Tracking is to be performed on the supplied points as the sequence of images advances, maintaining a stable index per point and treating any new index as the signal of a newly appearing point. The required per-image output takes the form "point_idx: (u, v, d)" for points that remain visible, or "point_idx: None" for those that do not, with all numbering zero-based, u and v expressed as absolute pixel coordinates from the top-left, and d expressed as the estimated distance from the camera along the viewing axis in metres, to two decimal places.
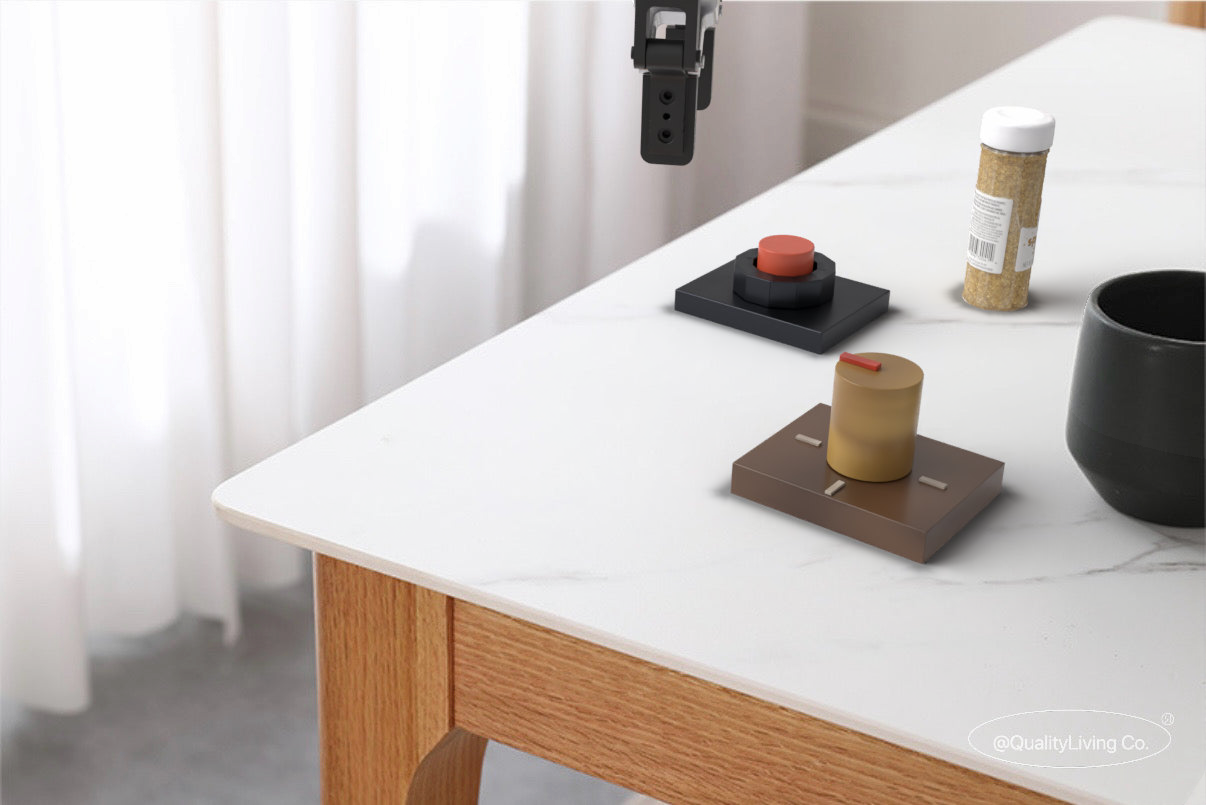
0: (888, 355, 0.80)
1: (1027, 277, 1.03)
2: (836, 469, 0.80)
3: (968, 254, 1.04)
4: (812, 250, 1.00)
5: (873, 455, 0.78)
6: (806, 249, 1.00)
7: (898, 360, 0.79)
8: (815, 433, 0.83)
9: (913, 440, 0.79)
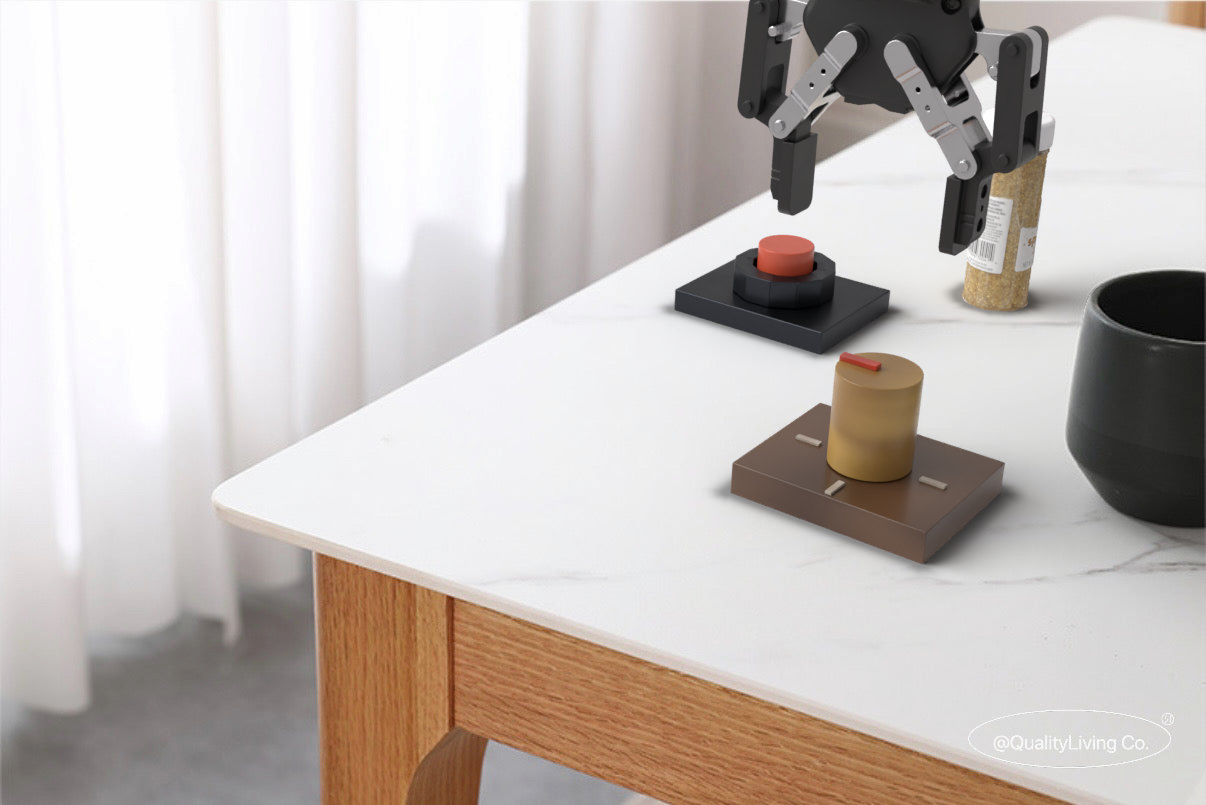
0: (888, 355, 0.80)
1: (1027, 277, 1.03)
2: (836, 469, 0.80)
3: (968, 254, 1.04)
4: (812, 250, 1.00)
5: (873, 455, 0.78)
6: (806, 249, 1.00)
7: (898, 360, 0.79)
8: (815, 433, 0.83)
9: (913, 440, 0.79)
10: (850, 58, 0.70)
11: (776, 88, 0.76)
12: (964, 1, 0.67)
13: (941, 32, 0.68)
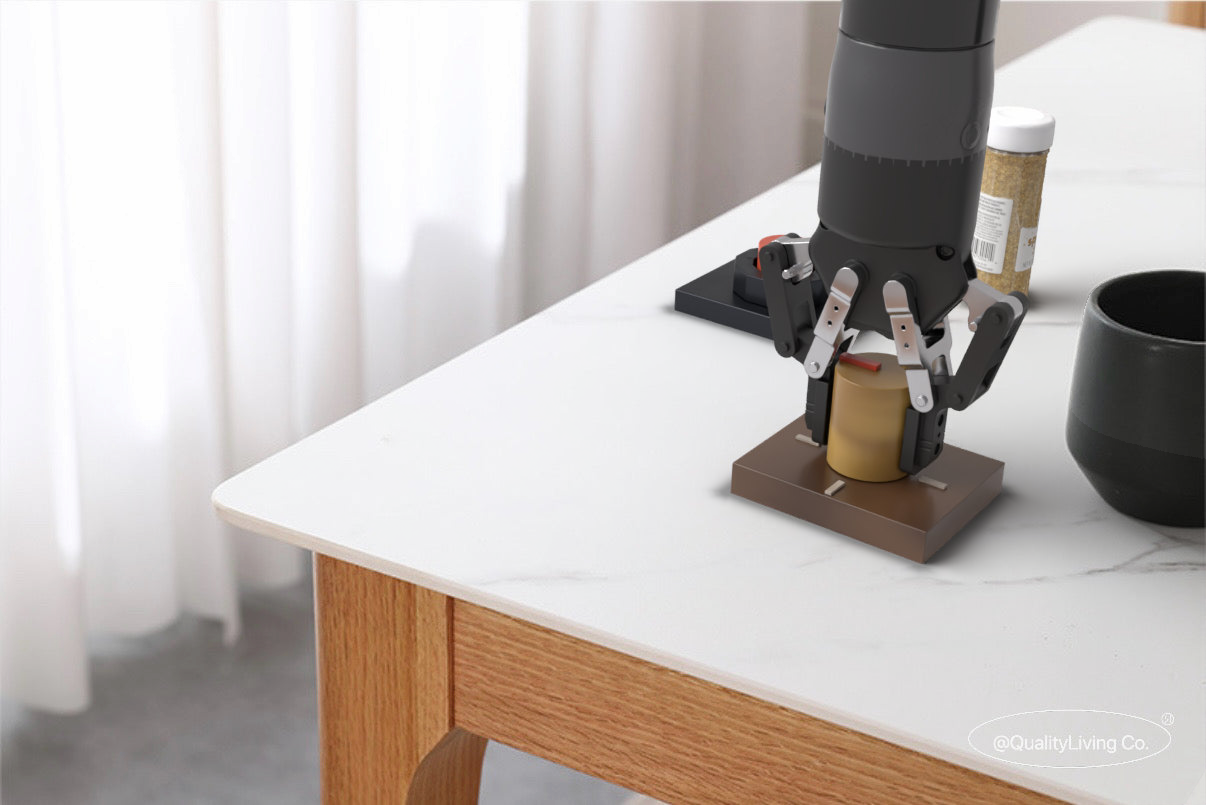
0: (888, 355, 0.80)
1: (1027, 277, 1.03)
2: (836, 469, 0.80)
3: None
4: None
5: (873, 455, 0.78)
6: None
7: None
8: None
9: None
10: (855, 290, 0.75)
11: (807, 324, 0.81)
12: (957, 249, 0.72)
13: (936, 275, 0.73)
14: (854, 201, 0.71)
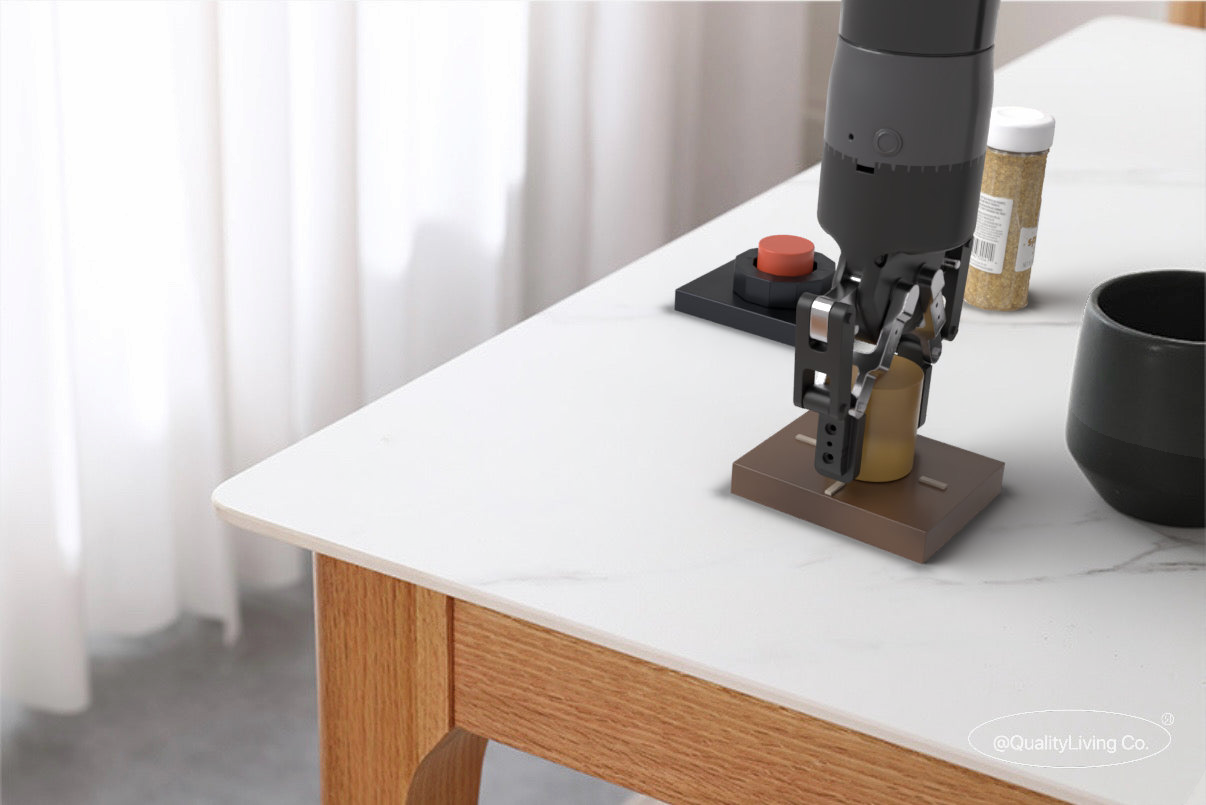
0: None
1: (1027, 277, 1.03)
2: (899, 476, 0.79)
3: None
4: (812, 250, 1.00)
5: None
6: (806, 249, 1.00)
7: None
8: (815, 433, 0.83)
9: None
10: (913, 304, 0.75)
11: (812, 383, 0.74)
12: None
13: None
14: (968, 207, 0.72)
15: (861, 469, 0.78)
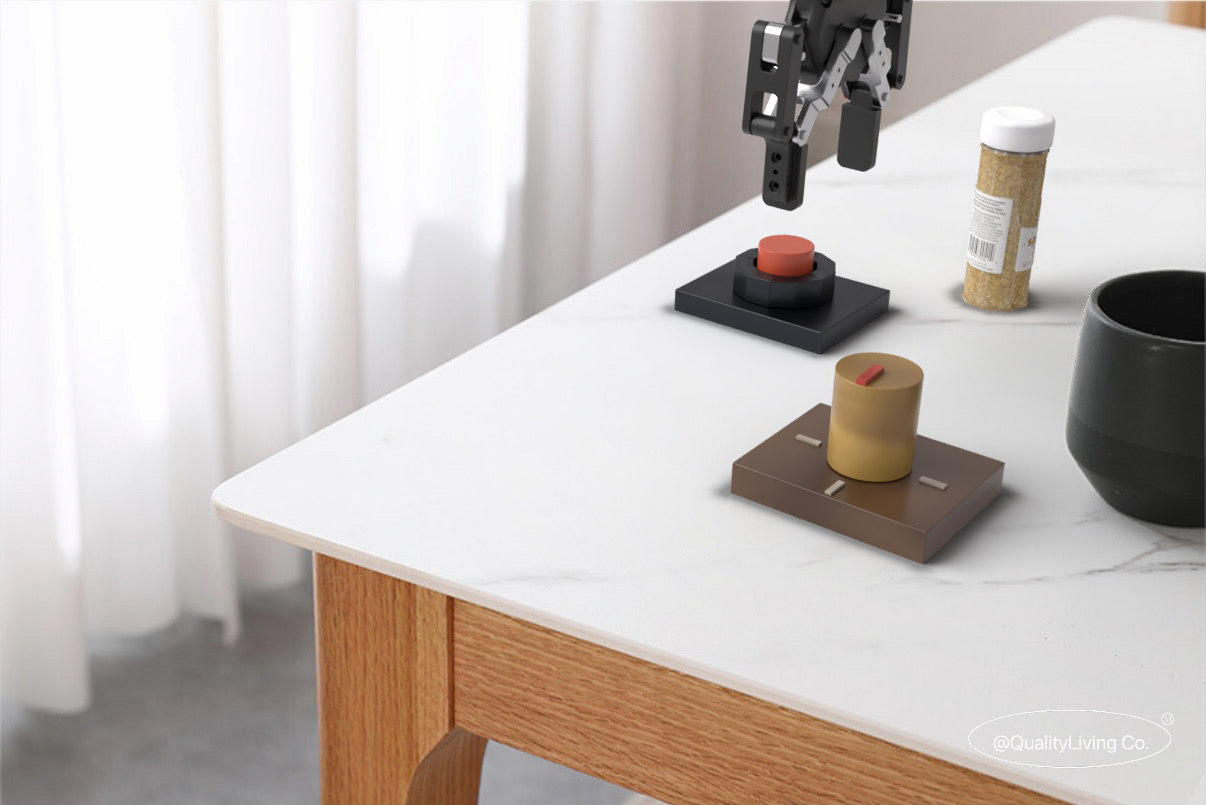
0: (841, 363, 0.79)
1: (1027, 277, 1.03)
2: (899, 476, 0.79)
3: (968, 254, 1.04)
4: (812, 250, 1.00)
5: None
6: (806, 249, 1.00)
7: (851, 360, 0.79)
8: (815, 433, 0.83)
9: None
10: None
11: (760, 112, 0.82)
12: None
13: (879, 4, 0.86)
14: None
15: (861, 469, 0.78)
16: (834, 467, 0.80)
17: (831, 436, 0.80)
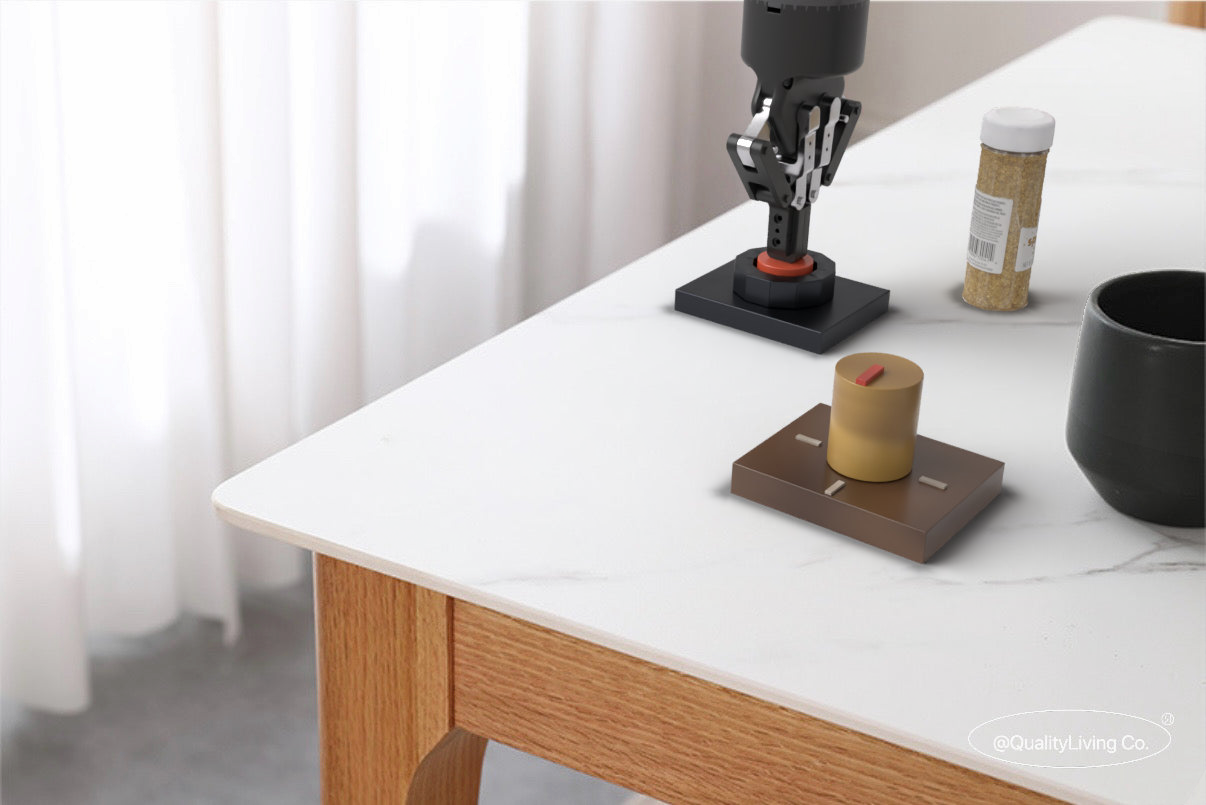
0: (841, 363, 0.79)
1: (1027, 277, 1.03)
2: (899, 476, 0.79)
3: (968, 254, 1.04)
4: (811, 265, 1.01)
5: None
6: (805, 264, 1.00)
7: (851, 360, 0.79)
8: (815, 433, 0.83)
9: None
10: (818, 117, 0.96)
11: None
12: None
13: (838, 82, 0.98)
14: (855, 42, 0.93)
15: (861, 469, 0.78)
16: (834, 467, 0.80)
17: (831, 436, 0.80)
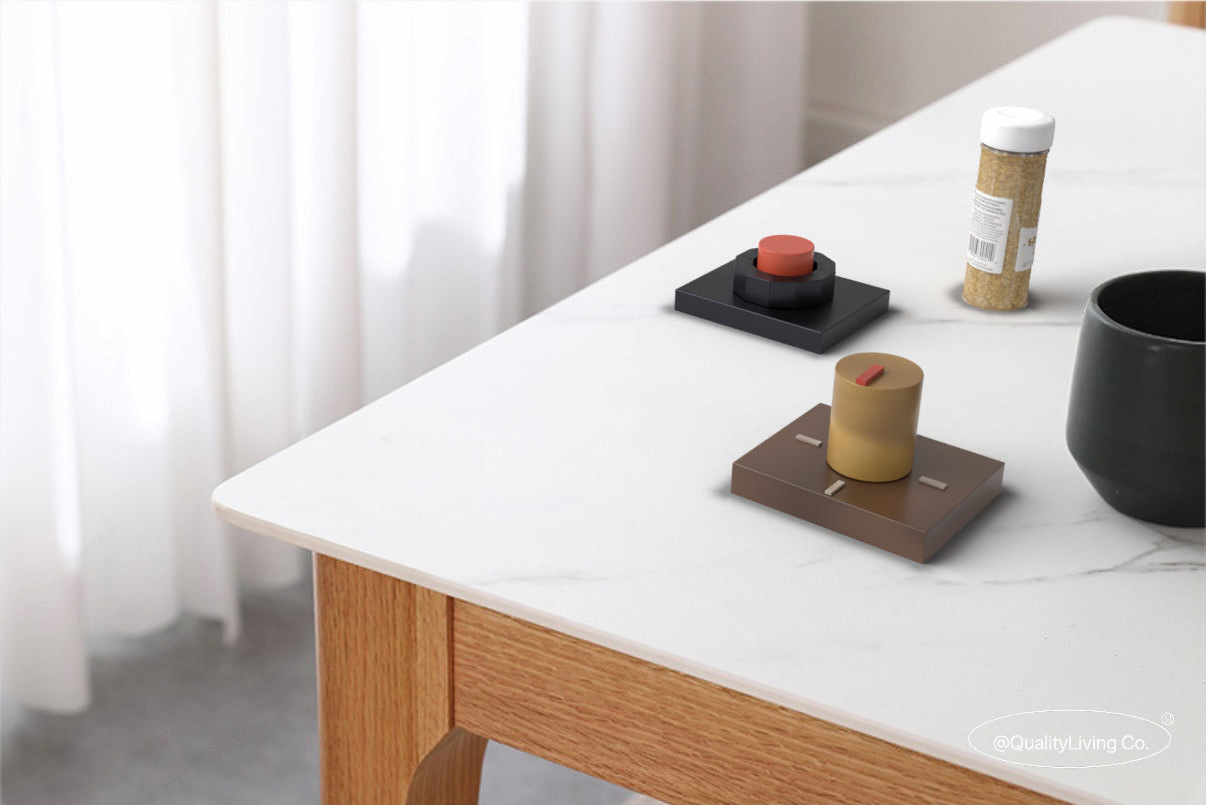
0: (841, 363, 0.79)
1: (1027, 277, 1.03)
2: (899, 476, 0.79)
3: (968, 254, 1.04)
4: (812, 250, 1.00)
5: None
6: (806, 249, 1.00)
7: (851, 360, 0.79)
8: (815, 433, 0.83)
9: None
10: None
11: None
12: None
13: None
14: None
15: (861, 469, 0.78)
16: (834, 467, 0.80)
17: (831, 436, 0.80)
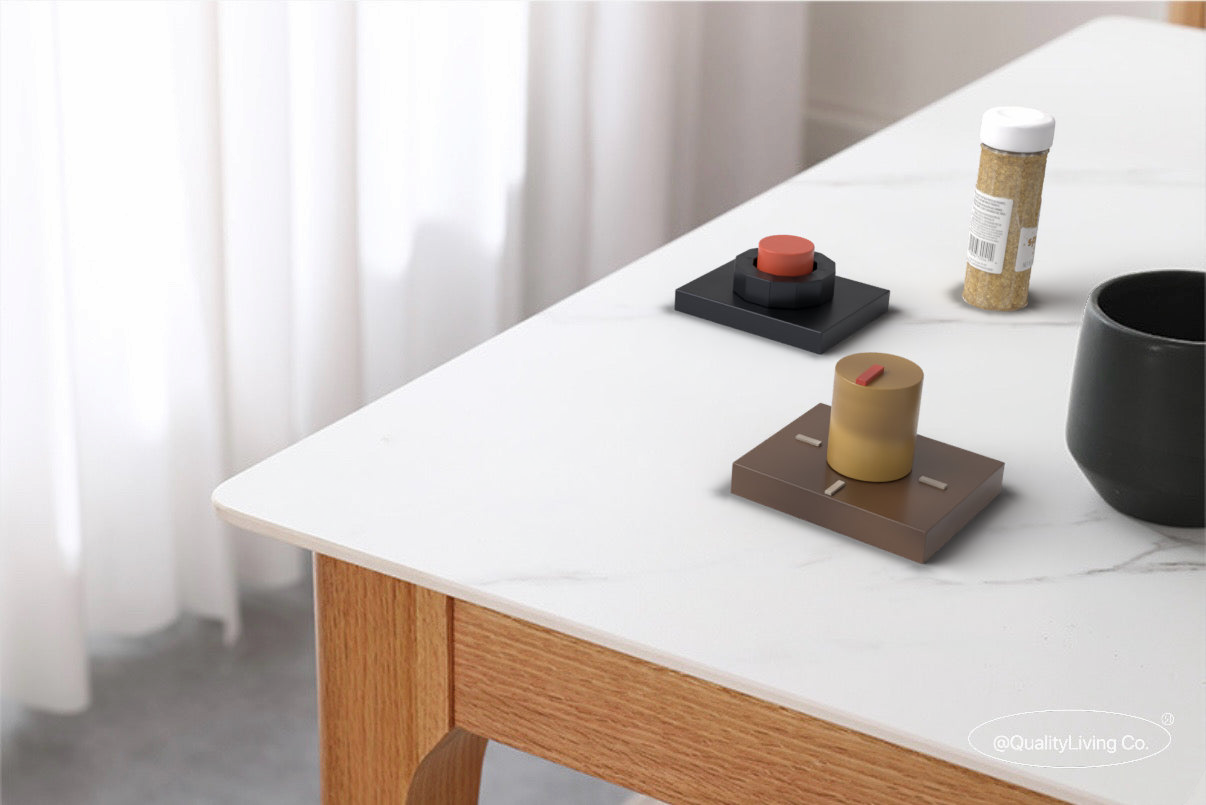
0: (841, 363, 0.79)
1: (1027, 277, 1.03)
2: (899, 476, 0.79)
3: (968, 254, 1.04)
4: (812, 250, 1.00)
5: None
6: (806, 249, 1.00)
7: (851, 360, 0.79)
8: (815, 433, 0.83)
9: None
10: None
11: None
12: None
13: None
14: None
15: (861, 469, 0.78)
16: (834, 467, 0.80)
17: (831, 436, 0.80)
